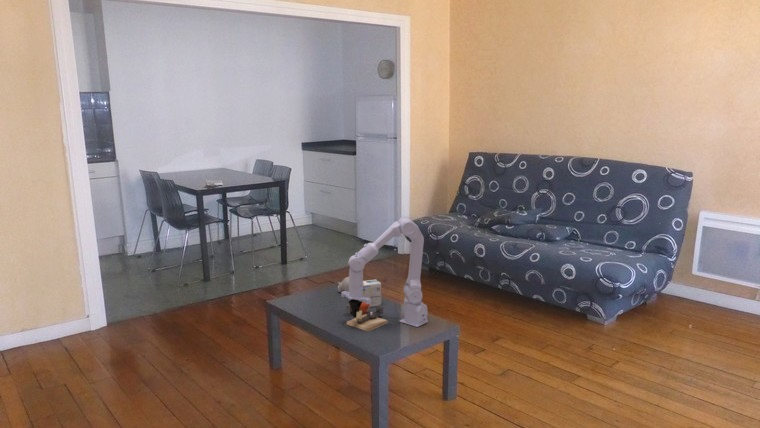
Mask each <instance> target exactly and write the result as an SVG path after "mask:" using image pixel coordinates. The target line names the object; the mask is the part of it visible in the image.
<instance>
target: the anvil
mask: <svg viewBox="0 0 760 428" xmlns="http://www.w3.org/2000/svg"><path fill="white" fill-rule="evenodd" d="M343 316H344V317H352V316H353V315H352V308H351V306H350V304H349V302H348V303H347V304H346V305H345V311H344V313H343Z"/></svg>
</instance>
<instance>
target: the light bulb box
mask: <svg viewBox="0 0 760 428" xmlns="http://www.w3.org/2000/svg"><path fill="white" fill-rule="evenodd" d="M363 295H365V296H366V297H368V298H371V303H370V307H369V308H371V307H373V308H374V307H377V306H382V283H381V282H380V281H379V280H377V279H368V280H363Z"/></svg>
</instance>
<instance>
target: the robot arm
mask: <svg viewBox="0 0 760 428" xmlns="http://www.w3.org/2000/svg"><path fill="white" fill-rule="evenodd" d="M402 235H404V236H405V237H407V238H408V239H409V240H410V241H411V242H410V251H409V253H410V254H409V263H408V264H409V265H408V275H407V278H406V281H405V285H404V286H403V290H402V291H403V294H404V295H405V297H404V299H403V318H401V319H400V320H399V323H402V324H406V325H409V326H413V327H415V328H417V327H420V326H422V325H425V324H427V323H429V320H428V306H427V304H426V303H424V302H423V301H422V300H423V292H422V283H421V274H422V265H423V264H422V263H423V255H424V243H425V236H424V235H423V234H422V232H421V229H420V228H419V226H418V225H417V224H416V223H415V222H414V221H413V220H412V219H410V218H409V217H407V216H402V217H400V218H398V219H397V220H396V221H394V222H393V223H392V224H391V225H390V226H389V227H388V228H387V229H386V230H385V231H384V232H383V233H382V234H381V235H379V237H377V239H376V240H374V241H373V242H368V243H365V244H363V247H362V248H361V249H360V250H359V251H357V252H355V253H354V255H351V256H350V257H349V259H348V262H347V264H348V266H349V272H348V277H349V292H347V291H345V290H343V292H340V293H341V297H342V298H344V297H345V298H347V299H348V303H349V304H350V306H351V308H352V315H351V316H352V317H353V318H356V311H357V310H359V308H360V306H361V304H362V302H364V303H366V304H370V303H371V298H368V297H366V296H365V295H363V281H364V269H365V265H366V264H368V263H369V262H370V261H371V260H373V259H374V257H376V256H377V255H378V254H379V250H380V249H381V248H382V247H383V246H384V245H386V244H387V243H388V242H389V241H390V240H392V239H393V238H395V237H397V238H398V237H402Z"/></svg>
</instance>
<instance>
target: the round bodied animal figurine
mask: <svg viewBox="0 0 760 428" xmlns="http://www.w3.org/2000/svg"><path fill="white" fill-rule="evenodd" d="M337 284H338V285H337V291H338V293H341V292H343V291H347V292H349V276H347V277H344V278H343V279H342V281H341V282H340V281H337Z"/></svg>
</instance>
